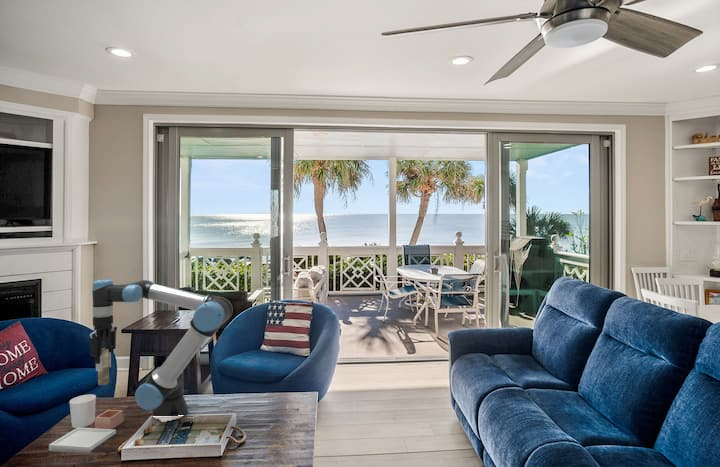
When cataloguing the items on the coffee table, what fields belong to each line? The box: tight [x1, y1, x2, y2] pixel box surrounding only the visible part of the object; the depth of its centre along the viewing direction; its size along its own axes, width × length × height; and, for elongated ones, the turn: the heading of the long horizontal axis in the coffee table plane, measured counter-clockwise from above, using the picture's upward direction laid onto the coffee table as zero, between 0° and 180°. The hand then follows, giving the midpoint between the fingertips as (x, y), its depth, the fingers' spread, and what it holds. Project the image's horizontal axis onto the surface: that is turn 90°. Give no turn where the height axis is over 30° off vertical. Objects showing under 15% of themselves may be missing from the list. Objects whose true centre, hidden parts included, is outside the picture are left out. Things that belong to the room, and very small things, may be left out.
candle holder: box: [69, 394, 97, 429], centre depth 180 cm, size 10×10×12 cm
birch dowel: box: [97, 347, 110, 386], centre depth 176 cm, size 4×4×15 cm
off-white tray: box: [48, 427, 117, 454], centre depth 165 cm, size 18×14×2 cm
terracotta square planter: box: [94, 409, 125, 429], centre depth 178 cm, size 8×8×6 cm
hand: (103, 368), depth 176 cm, fingers closed on birch dowel, 4 cm apart
